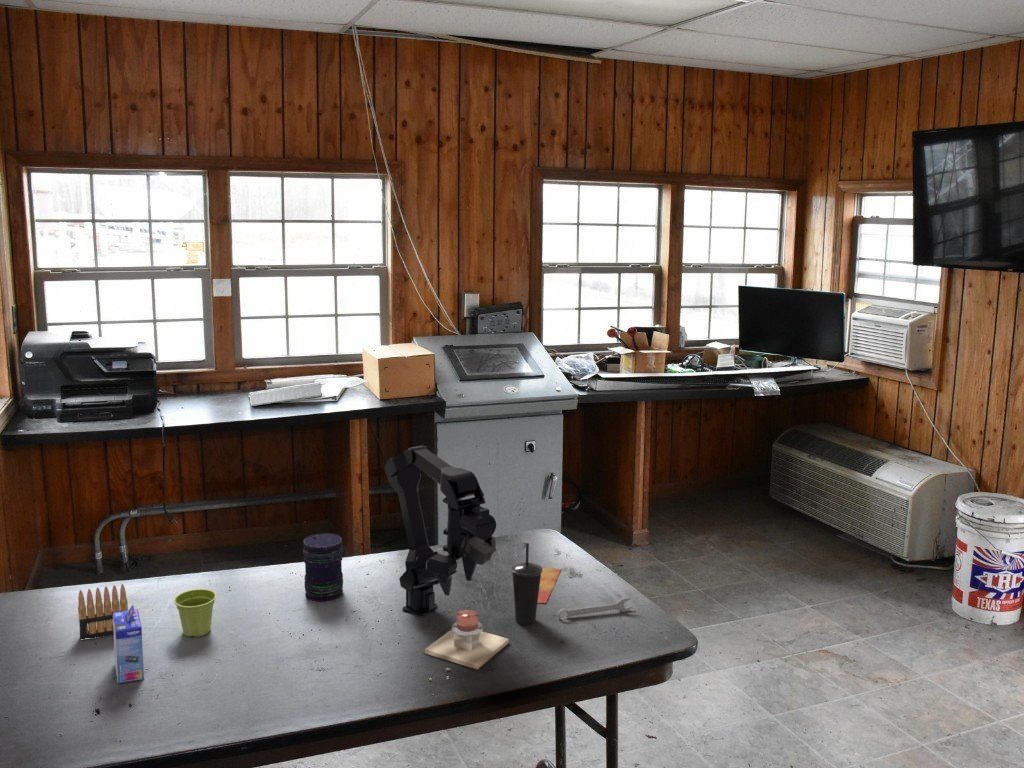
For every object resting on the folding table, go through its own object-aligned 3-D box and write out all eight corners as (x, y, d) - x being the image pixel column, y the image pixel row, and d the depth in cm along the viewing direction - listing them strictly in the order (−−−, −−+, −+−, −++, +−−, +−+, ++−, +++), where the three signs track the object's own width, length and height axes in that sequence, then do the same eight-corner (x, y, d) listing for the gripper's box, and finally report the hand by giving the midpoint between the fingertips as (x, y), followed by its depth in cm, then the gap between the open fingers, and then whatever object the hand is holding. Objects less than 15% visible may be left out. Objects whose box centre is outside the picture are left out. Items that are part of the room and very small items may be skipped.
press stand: (424, 653, 199) (424, 634, 198) (458, 628, 211) (458, 610, 210) (477, 669, 193) (477, 650, 192) (508, 642, 205) (509, 625, 204)
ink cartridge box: (146, 679, 187) (141, 616, 184) (117, 685, 184) (112, 621, 181) (141, 658, 195) (137, 597, 192) (114, 663, 193) (109, 602, 190)
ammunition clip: (130, 628, 209) (126, 581, 206) (130, 632, 207) (126, 584, 205) (80, 637, 204) (76, 589, 202) (80, 640, 203) (75, 592, 200)
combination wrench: (558, 609, 216) (633, 598, 221) (556, 607, 217) (631, 596, 222) (558, 623, 216) (633, 612, 222) (556, 621, 218) (631, 610, 223)
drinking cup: (538, 629, 212) (540, 551, 208) (507, 625, 213) (508, 548, 209) (543, 615, 219) (545, 539, 215) (513, 611, 220) (514, 536, 216)
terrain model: (561, 571, 247) (561, 569, 246) (545, 605, 225) (545, 603, 225) (475, 561, 252) (475, 559, 252) (452, 594, 231) (452, 592, 231)
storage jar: (351, 592, 230) (350, 538, 227) (324, 606, 222) (323, 550, 219) (323, 583, 235) (322, 530, 232) (296, 596, 227) (294, 541, 224)
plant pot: (225, 631, 208) (223, 597, 206) (187, 645, 201) (185, 610, 200) (205, 618, 214) (204, 585, 213) (168, 631, 208) (166, 597, 206)
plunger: (446, 645, 200) (446, 617, 199) (462, 633, 206) (462, 605, 205) (472, 653, 197) (472, 624, 196) (488, 640, 203) (488, 612, 202)
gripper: (466, 546, 191) (465, 612, 194) (509, 520, 207) (507, 581, 210) (425, 535, 196) (424, 599, 200) (470, 510, 212) (468, 570, 216)
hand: (458, 587), depth 206 cm, fingers open, 9 cm apart
